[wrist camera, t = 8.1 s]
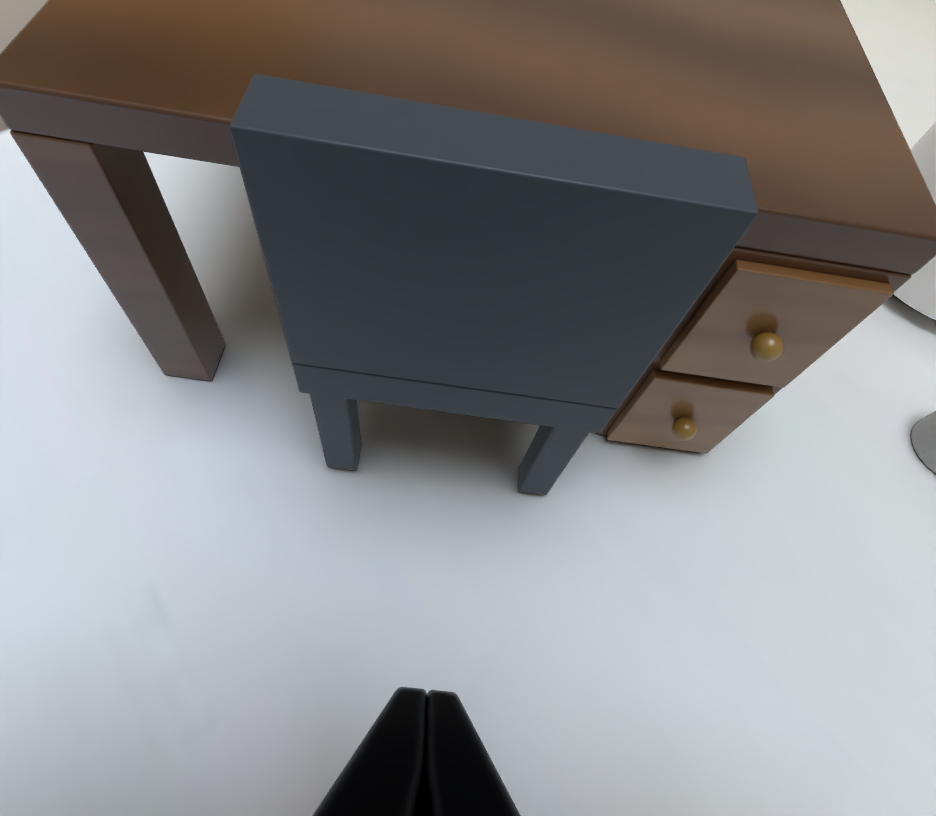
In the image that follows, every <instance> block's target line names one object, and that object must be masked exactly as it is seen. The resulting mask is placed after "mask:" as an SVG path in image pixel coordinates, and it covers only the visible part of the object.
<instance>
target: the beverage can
mask: <svg viewBox="0 0 936 816" xmlns="http://www.w3.org/2000/svg"><path fill="white" fill-rule="evenodd" d="M910 151H911V153H912V155H913V157H914V159H915V161H916V163H917V165H918V168H919V170H920V172H921V174H922V176H923V178H924V180H925V182H926V185H927V187H928V189H929V191H930V193H931V195H932V197H933V200H934V202H935V204H936V122H935V123H934V125H933V126H932V127H931V128H930V129H929V130H928V131H927V132H926V133H925V134H924V136H923V137H922V138H921V139H920V140H919V141H918V142H917V143H916V144H915V145H914V147H913V148H912V149H911V150H910ZM894 295H895V296H896V297H898V298H899V299H900V300H902V301H903V302H904V303H906V304H907V305H909V306H910V307H912V308H914V309H915V310H917V311H919V312H920V313H922V314H924V315H926V316H928V317H930V318H932V319H934V320H936V256H935V257H934V258H933V259H932V260H930V261H929V262H928V263H927V264H926V265H924V266H923V267H922V268H921V269H920V270H919V271H917V272H916V273H914V274H911V278H910V279H909V280H908V281H907V282H906V283H904V284H903V285H902V286H901V287H900V288H899V289H897V290H896V291H895V292H894Z"/></svg>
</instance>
